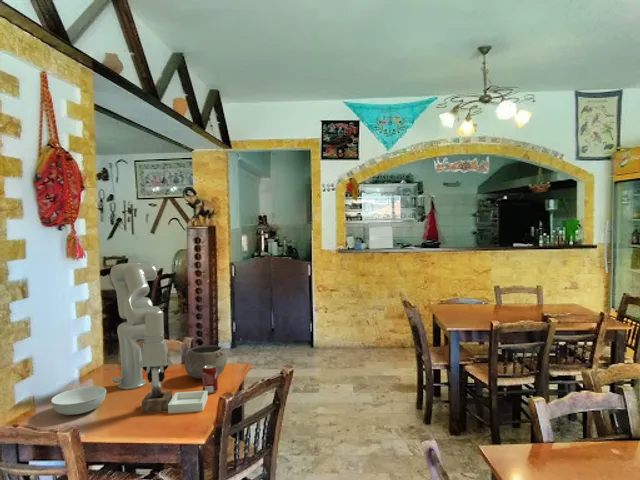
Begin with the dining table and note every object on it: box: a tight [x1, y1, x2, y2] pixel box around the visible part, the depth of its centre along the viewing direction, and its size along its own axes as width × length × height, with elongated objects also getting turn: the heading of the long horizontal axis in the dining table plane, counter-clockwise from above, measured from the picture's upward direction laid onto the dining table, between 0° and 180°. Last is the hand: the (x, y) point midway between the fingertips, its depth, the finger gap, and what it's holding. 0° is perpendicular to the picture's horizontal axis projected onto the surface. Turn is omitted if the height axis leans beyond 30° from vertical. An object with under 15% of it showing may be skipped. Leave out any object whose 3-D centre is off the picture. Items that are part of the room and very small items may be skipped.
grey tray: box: [167, 390, 209, 414], centre depth 192 cm, size 14×14×4 cm
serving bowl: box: [50, 386, 107, 416], centre depth 191 cm, size 21×21×7 cm
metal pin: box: [150, 366, 163, 396], centre depth 191 cm, size 4×4×13 cm
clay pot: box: [184, 345, 228, 380], centre depth 228 cm, size 21×21×15 cm
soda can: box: [201, 365, 219, 395], centre depth 208 cm, size 7×7×12 cm
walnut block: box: [141, 390, 173, 414], centre depth 191 cm, size 10×10×5 cm
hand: (156, 380), depth 191 cm, fingers closed on metal pin, 4 cm apart
